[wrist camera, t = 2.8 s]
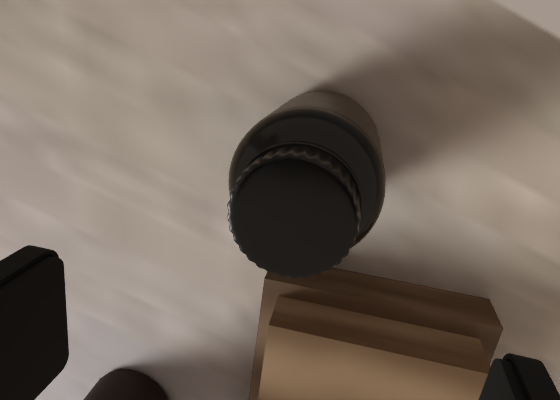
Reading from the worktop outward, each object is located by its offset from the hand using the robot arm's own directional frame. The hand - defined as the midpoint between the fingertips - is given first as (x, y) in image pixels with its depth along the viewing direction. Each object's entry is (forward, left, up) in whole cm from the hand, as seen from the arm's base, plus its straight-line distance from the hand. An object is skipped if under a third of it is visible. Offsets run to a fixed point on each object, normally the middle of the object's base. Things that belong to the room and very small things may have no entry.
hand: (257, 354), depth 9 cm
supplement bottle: (0, 0, -19) cm, 19 cm away
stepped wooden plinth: (+15, +5, -19) cm, 24 cm away
